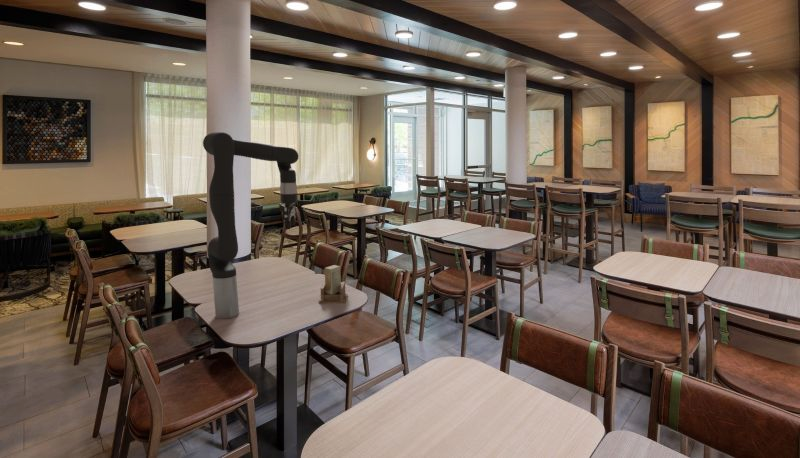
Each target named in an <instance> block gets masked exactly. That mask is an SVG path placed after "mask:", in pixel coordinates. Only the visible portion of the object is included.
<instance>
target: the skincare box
mask: <svg viewBox="0 0 800 458" xmlns="http://www.w3.org/2000/svg"><path fill="white" fill-rule="evenodd" d="M341 277H342V276H341V266H339V265H336V264H333V265H329V266H326V267H324V282H325V290H326V293H328V294H331V295H332V294H335V293H337V292H340V287H341V284H342V282H341V281H342V280H341Z"/></svg>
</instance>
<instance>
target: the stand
mask: <svg viewBox="0 0 800 458" xmlns="http://www.w3.org/2000/svg"><path fill="white" fill-rule="evenodd" d="M348 296H349V295H348V293H346V281H342V282H341V287H340V292H337V293H335V294H332V295H331V294H328V293H326V290H325V281H323V284H322V286H321V287H320V298H319V300H318V304H346V301H347V298H348Z"/></svg>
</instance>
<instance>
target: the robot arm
mask: <svg viewBox="0 0 800 458" xmlns="http://www.w3.org/2000/svg"><path fill="white" fill-rule="evenodd" d="M202 146H203V149H204V150H205V152H207V153H208V154H209V155H211V156H213V163H214V164H213V165H214V167H213V175H212V177H211V181H210V184H209V188H208V189H209V191H208V194H209V206H210V211H211V213H212V216H213V219H214V221H215V223H216V226H217V236H216V237H213V238H212V239H211V240H210V241H209V243H208V246H207V255H208V256H207V258H208V266H209V269H210V272H211V275H212V286H213V298H214V299H213V301H214V313H215V319H222V320H223V319H232V318H234V317H237V316H238V315H239V313H240V308H239V307H240V306H239V305H240V304H239V295H238V292H239V291H238V278H237V277H238V276H237V268H236V266H235V265H234V264H233V262H232V261H233V260H235V259H236V258H237V255H238V253H239V242H238V236H237V230H236V214H235V211H236V210H235V189H234V157H235V156H236V157H237V156H239V157H245V158H250V159H255V160H260V161H267V162H276V164H277V168H278V171H279V182H280V184H279V185H280V186H279V193H280V203H281V204H284V206H283V207H282V220H283V221H284V227H285V230H290V229H291V227H295V226H296V225H295V224H296V220H295V219H296V217H297V208H296V207H297V206H296V204H297V203H298V186H297V172H296V170H294V169H293V167H292V165H293V164H295V163H297V161H298V160H299V152H298V151H297V150H296V149H295V148H292V147H288V146H287V147H286V146H277V145H273V144H267V143H263V142H257V141H255V142H254V141H244V140H237V139H233V137H232V136H231V135H230V134H229V133H227V132H223V131H219V132H210V133H208V134H207V135H205V137H204V138H203V139H202Z"/></svg>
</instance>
